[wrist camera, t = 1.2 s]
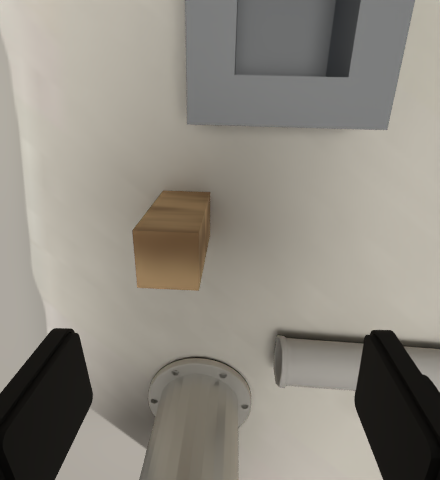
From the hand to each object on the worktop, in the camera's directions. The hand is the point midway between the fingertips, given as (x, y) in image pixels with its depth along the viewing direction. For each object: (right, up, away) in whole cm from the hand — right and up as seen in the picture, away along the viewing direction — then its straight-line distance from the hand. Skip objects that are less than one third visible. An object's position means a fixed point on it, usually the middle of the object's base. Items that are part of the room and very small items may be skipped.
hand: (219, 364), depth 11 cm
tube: (+19, -9, +27) cm, 34 cm away
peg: (-3, +7, +21) cm, 22 cm away
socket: (+5, +20, +15) cm, 25 cm away
